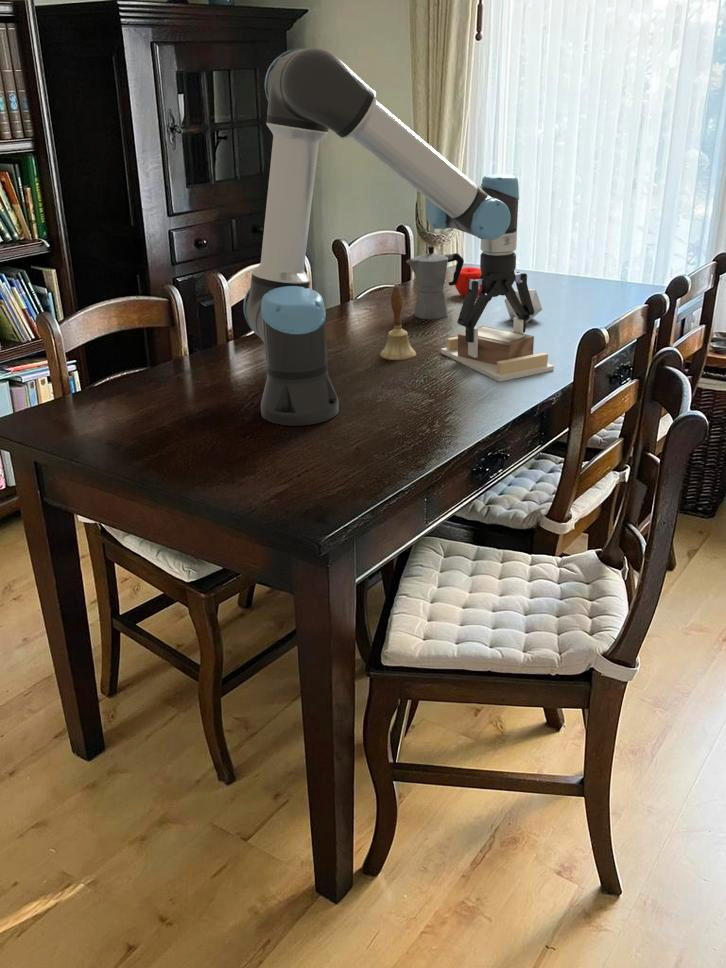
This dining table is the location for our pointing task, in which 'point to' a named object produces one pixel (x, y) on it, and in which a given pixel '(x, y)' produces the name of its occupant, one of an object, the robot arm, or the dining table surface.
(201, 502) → the dining table surface
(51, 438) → the dining table surface
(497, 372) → the wall panel
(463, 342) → the frame
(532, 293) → the die
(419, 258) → the coffeepot
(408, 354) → the hand bell
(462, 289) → the apple
